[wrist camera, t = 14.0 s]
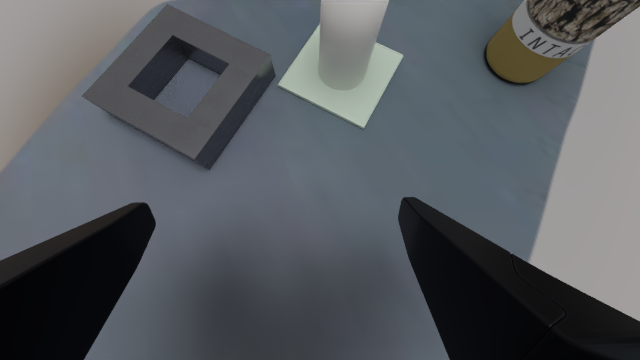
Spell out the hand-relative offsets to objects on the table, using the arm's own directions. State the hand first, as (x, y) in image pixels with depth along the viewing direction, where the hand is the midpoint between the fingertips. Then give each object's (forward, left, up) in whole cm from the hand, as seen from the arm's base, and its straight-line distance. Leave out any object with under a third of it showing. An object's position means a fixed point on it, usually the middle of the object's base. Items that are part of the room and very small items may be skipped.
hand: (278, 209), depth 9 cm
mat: (+4, -17, -14) cm, 22 cm away
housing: (+16, -7, -14) cm, 22 cm away
